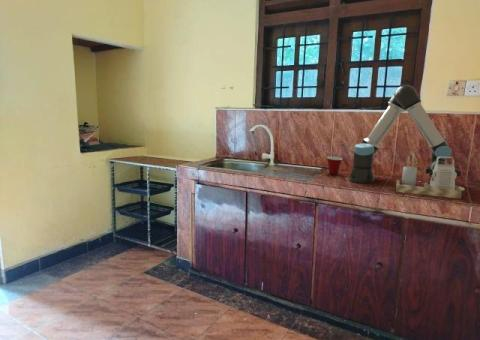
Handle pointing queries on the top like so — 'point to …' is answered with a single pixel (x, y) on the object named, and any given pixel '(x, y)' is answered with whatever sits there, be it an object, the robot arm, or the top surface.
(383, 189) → the top surface
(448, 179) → the grater
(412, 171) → the utensil crock
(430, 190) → the rack
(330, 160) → the plastic cup
